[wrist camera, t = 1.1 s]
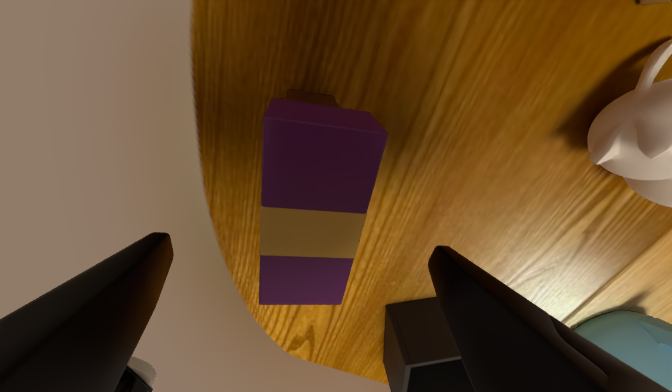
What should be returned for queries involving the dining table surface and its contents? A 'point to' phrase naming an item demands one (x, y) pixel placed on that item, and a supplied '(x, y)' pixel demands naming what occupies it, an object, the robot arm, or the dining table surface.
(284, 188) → the chocolate bar
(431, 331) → the waste bin
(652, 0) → the candy box
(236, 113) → the dining table surface
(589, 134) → the cat figurine
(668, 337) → the teakettle
